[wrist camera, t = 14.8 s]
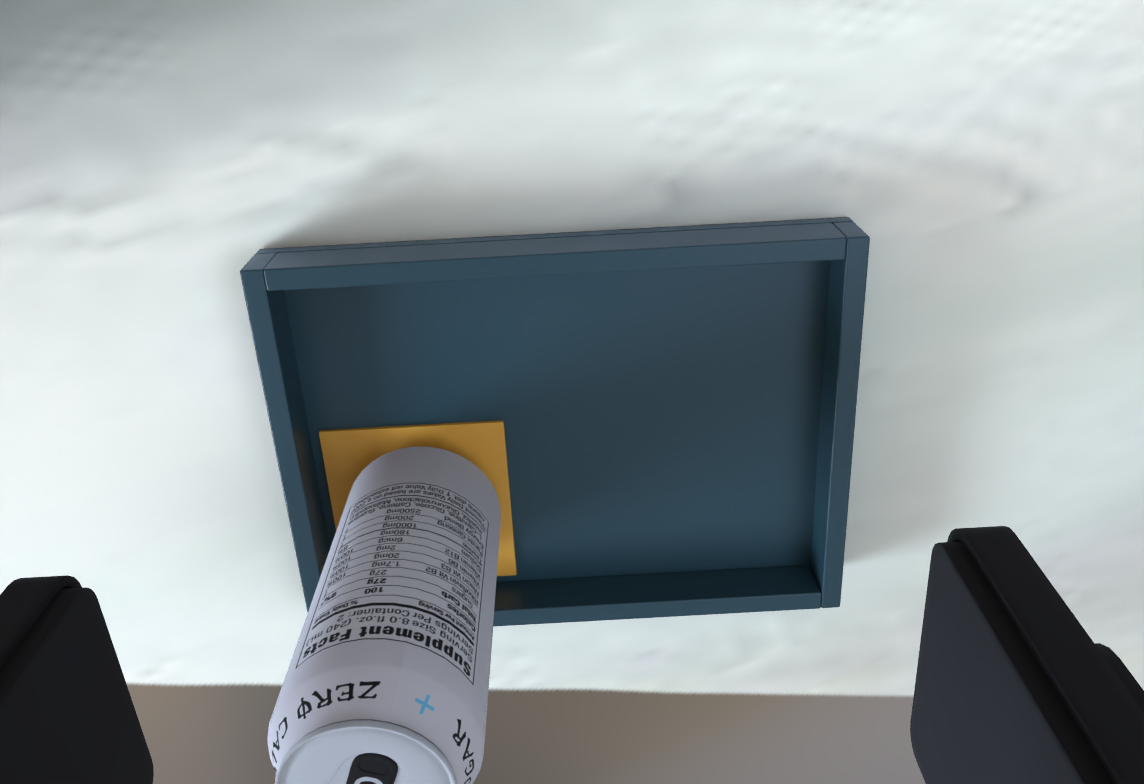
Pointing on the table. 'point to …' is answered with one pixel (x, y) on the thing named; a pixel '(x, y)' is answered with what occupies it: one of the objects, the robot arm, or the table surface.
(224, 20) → the table surface
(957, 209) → the table surface
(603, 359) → the tray
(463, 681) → the energy drink can
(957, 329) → the table surface
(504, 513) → the corner tile
